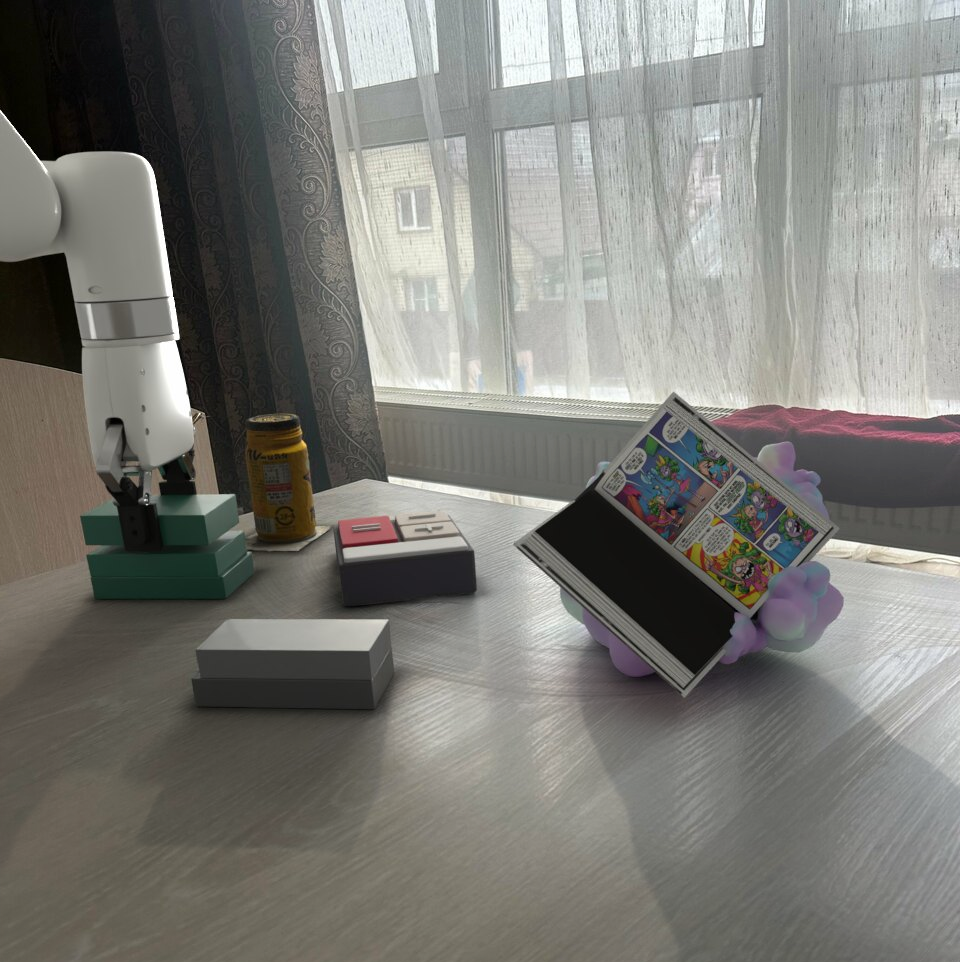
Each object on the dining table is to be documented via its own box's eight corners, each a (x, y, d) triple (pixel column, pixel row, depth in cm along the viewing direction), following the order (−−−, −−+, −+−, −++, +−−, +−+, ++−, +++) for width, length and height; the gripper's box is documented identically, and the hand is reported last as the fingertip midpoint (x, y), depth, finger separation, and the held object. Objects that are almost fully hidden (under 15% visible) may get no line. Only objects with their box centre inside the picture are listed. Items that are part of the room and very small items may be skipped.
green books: (94, 599, 86) (85, 555, 85) (132, 573, 93) (123, 531, 91) (226, 599, 85) (218, 553, 83) (255, 572, 91) (248, 530, 89)
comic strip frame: (782, 519, 81) (676, 332, 73) (970, 591, 61) (851, 344, 54) (583, 674, 80) (458, 501, 73) (707, 796, 61) (553, 575, 54)
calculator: (448, 505, 95) (474, 541, 81) (451, 550, 96) (478, 592, 82) (331, 517, 93) (337, 555, 79) (336, 562, 95) (343, 607, 81)
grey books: (195, 706, 65) (185, 650, 64) (228, 671, 70) (219, 618, 69) (374, 709, 63) (368, 651, 62) (394, 673, 68) (389, 618, 67)
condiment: (332, 528, 104) (318, 410, 99) (298, 552, 96) (281, 427, 91) (268, 526, 105) (252, 411, 101) (229, 550, 98) (210, 427, 93)
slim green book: (85, 545, 84) (79, 515, 83) (124, 523, 91) (119, 495, 90) (208, 545, 83) (204, 515, 82) (239, 522, 89) (235, 494, 88)
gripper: (134, 316, 89) (167, 511, 95) (24, 336, 73) (73, 568, 80) (215, 313, 88) (242, 511, 94) (120, 332, 72) (161, 569, 78)
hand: (164, 535), depth 87 cm, fingers closed on slim green book, 7 cm apart
